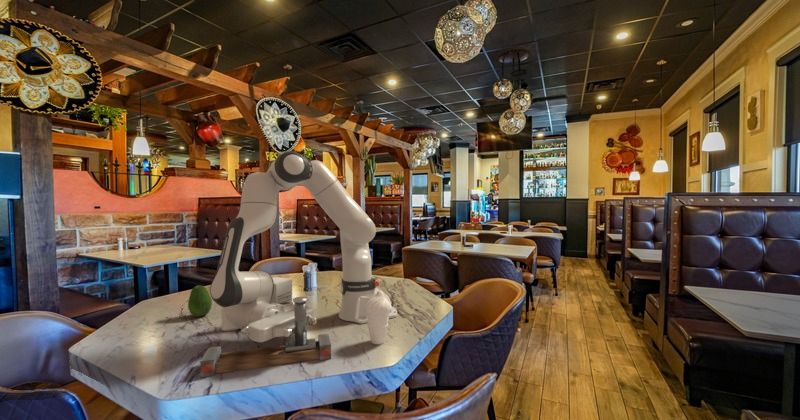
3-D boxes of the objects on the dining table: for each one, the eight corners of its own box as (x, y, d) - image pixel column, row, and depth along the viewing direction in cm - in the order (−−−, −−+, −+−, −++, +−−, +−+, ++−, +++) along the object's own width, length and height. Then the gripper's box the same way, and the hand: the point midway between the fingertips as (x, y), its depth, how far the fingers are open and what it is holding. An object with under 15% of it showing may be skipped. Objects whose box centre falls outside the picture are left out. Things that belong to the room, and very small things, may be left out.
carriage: (315, 345, 96) (314, 295, 95) (315, 351, 92) (315, 299, 92) (286, 349, 93) (285, 298, 93) (285, 355, 89) (284, 301, 89)
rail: (328, 346, 99) (328, 333, 99) (331, 359, 91) (331, 344, 91) (209, 362, 89) (208, 347, 89) (200, 378, 81) (199, 362, 81)
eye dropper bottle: (234, 331, 111) (233, 296, 111) (219, 330, 112) (218, 295, 112) (242, 327, 115) (242, 293, 115) (228, 326, 116) (227, 292, 116)
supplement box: (256, 322, 120) (256, 281, 120) (274, 314, 128) (274, 276, 128) (276, 325, 117) (275, 283, 116) (293, 317, 125) (292, 278, 125)
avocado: (189, 315, 128) (188, 284, 128) (212, 311, 132) (211, 282, 132) (187, 321, 121) (186, 289, 121) (211, 317, 125) (211, 286, 125)
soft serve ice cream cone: (370, 349, 97) (370, 295, 96) (360, 339, 104) (360, 289, 104) (396, 343, 100) (395, 292, 100) (384, 334, 108) (384, 286, 108)
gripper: (237, 319, 89) (272, 328, 83) (293, 300, 107) (326, 306, 101) (237, 342, 89) (273, 353, 83) (294, 319, 107) (326, 326, 101)
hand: (303, 327), depth 92 cm, fingers open, 8 cm apart
